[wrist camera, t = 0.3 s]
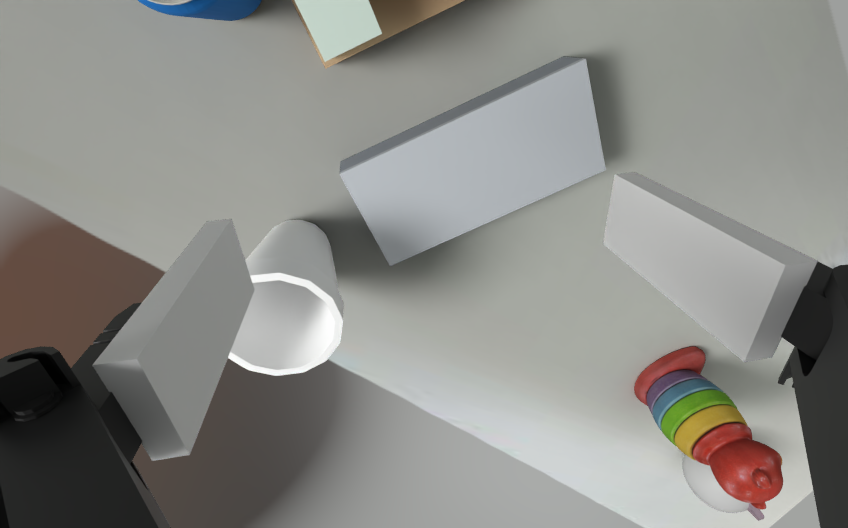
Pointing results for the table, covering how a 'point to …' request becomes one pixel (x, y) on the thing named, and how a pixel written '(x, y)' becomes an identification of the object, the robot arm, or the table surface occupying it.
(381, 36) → the tan wooden bar
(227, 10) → the beverage can
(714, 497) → the ornament
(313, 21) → the block
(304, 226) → the foam cup
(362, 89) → the table surface
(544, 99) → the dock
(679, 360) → the stacking bear
